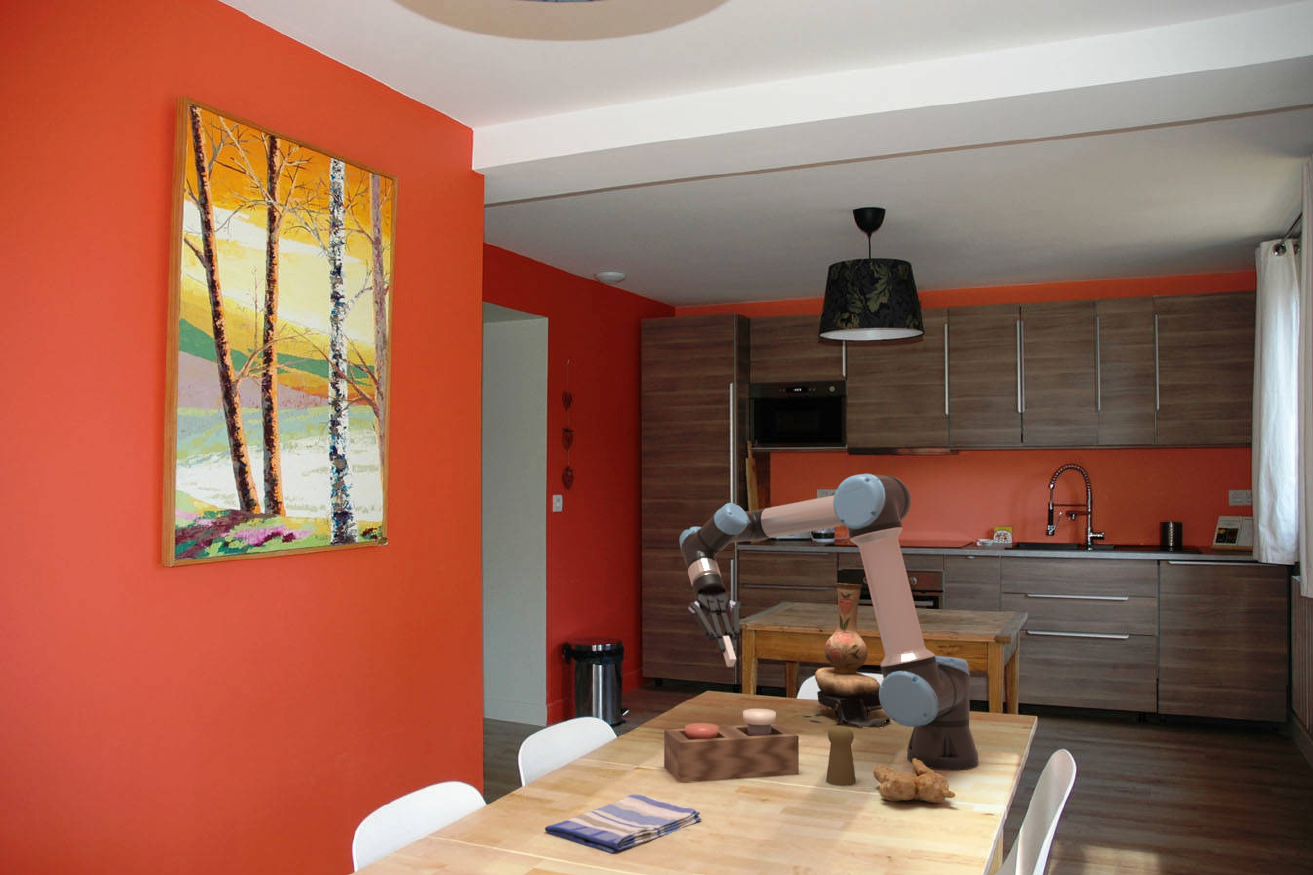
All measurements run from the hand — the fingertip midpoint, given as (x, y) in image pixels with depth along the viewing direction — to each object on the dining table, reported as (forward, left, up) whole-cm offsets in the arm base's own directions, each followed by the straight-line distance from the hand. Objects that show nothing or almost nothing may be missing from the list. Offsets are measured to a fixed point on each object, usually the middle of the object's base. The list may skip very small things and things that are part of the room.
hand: (731, 662), depth 229 cm
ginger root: (-44, -5, -21) cm, 50 cm away
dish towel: (-22, +48, -22) cm, 57 cm away
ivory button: (-10, +2, -16) cm, 19 cm away
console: (-8, +8, -21) cm, 24 cm away
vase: (+10, -54, -21) cm, 59 cm away
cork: (-28, -4, -21) cm, 35 cm away
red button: (-5, +14, -18) cm, 23 cm away
